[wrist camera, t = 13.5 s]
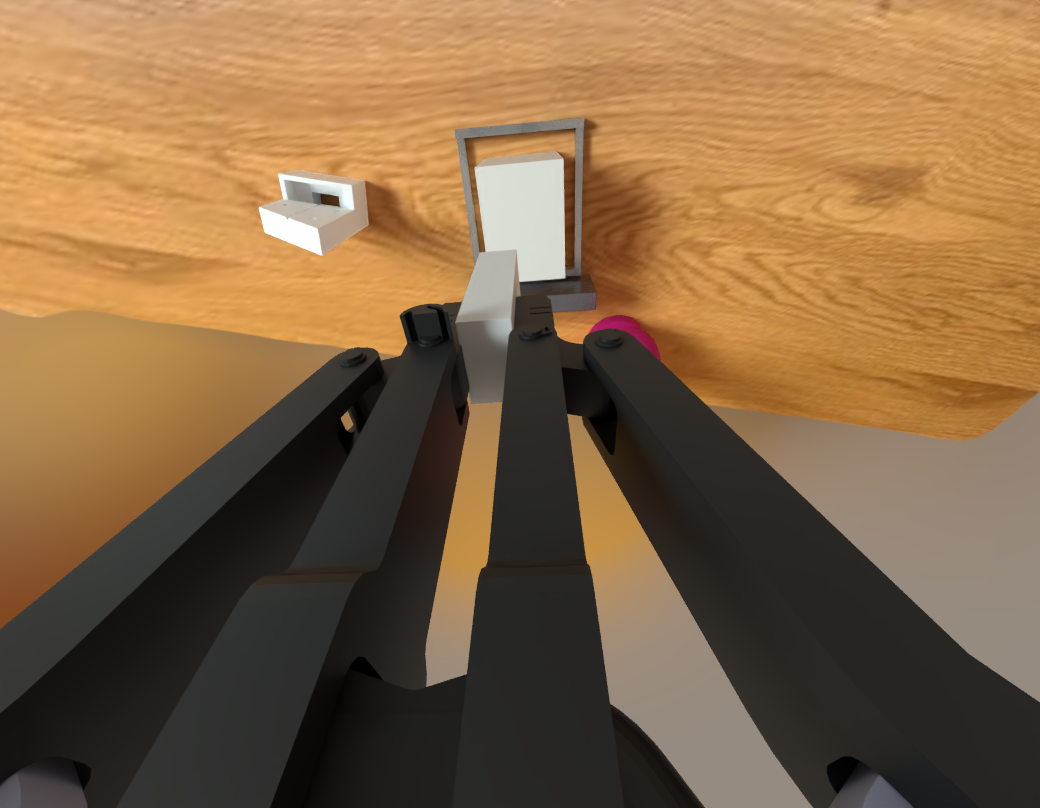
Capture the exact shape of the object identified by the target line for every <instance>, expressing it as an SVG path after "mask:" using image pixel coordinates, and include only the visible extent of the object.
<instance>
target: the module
mask: <svg viewBox="0 0 1040 808" xmlns="http://www.w3.org/2000/svg"><path fill="white" fill-rule="evenodd" d="M475 175H476V182H477V190H478V197H479V205H480V212H481V220H482V228H483V235H484V243H485V250H486V252H491V251H503V250H515V249H517V261H518V272H519V282H524V281H537V280H549V279H562V278H565V227H564V159H563V158H562V156H561V155H560V154H559V153H558V152H557V151H552V152H542V153H532V154H522V155H512V156H502V157H492V158H485V159H484V160H483V161H481V162H480V163H479V164H478V165H477V166H476V167H475Z"/></svg>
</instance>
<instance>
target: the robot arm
mask: <svg viewBox="0 0 1040 808" xmlns="http://www.w3.org/2000/svg"><path fill="white" fill-rule="evenodd" d="M400 319H401V322H402V326H403V329H404V332H405V336H406V339H407V345H406V347H405V349H404V351H403V353H402V355H401V356H398V357H395V358H390V359H386V360H382V361H381V360H380V357H379V354H378V351H376V350H375V349H372V348H360V347H357V348H354V349H353V348H352V349H348V350H346V351H345V352H343V353H340V354H338V355H337V356H335V357H334V358H332V359H331V360H330V361H328V362H327V363H326V364H325V365H324V366H322V367H321V368H320V369H319V370H317V371H316V372H315V373H314V374H313V375H311V376H310V377H309V378H308V379H306V380H305V381H304V382H303V383H302V384H300V385H299V386H298V387H297V388H295V389H294V390H293V391H292V392H291V393H289V394H288V395H287V396H286V397H284V398H283V399H282V400H281V401H280V402H278V403H277V404H276V405H275V406H273V407H272V408H271V409H270V410H268V411H267V412H266V413H265V414H264V415H262V416H261V417H260V418H259V419H258V420H256V421H255V422H254V423H252V424H251V425H250V426H249V427H248V428H246V429H245V430H244V431H243V432H242V433H240V434H239V435H238V436H237V437H235V438H234V439H233V440H232V441H230V442H229V443H228V444H227V445H226V446H224V447H223V448H222V449H221V450H220V451H218V452H217V453H216V454H214V455H213V456H212V457H211V458H210V459H208V460H207V461H206V462H205V463H203V464H202V465H201V466H200V467H199V468H197V469H196V470H195V471H194V472H192V473H191V474H190V475H189V476H188V477H186V478H185V479H184V480H183V481H182V482H180V483H179V484H178V485H176V486H175V487H174V488H173V489H172V490H171V491H169V492H168V493H167V494H165V495H164V496H163V497H162V498H161V499H159V500H158V501H157V502H156V503H154V504H153V505H152V506H151V507H150V508H148V509H147V510H146V511H145V512H143V513H142V514H141V515H140V516H139V517H137V518H136V519H135V520H134V521H133V522H131V523H130V524H129V525H127V526H126V527H125V528H124V529H123V530H121V531H120V532H119V533H118V534H116V535H115V536H114V537H113V538H111V539H110V540H109V541H108V542H107V543H105V544H104V545H103V546H102V547H100V548H99V549H98V550H97V551H96V552H94V553H93V554H92V555H91V556H89V557H88V558H87V559H86V560H85V561H83V562H82V563H81V564H80V565H78V566H77V567H76V568H75V569H74V570H72V571H71V572H70V573H69V574H67V575H66V576H65V577H64V578H63V579H61V580H60V581H59V582H58V583H56V584H55V585H54V586H53V587H51V588H50V589H49V590H48V591H47V592H45V593H44V594H43V595H42V596H40V597H39V598H38V599H37V600H36V601H34V602H33V603H32V604H31V605H29V606H28V607H27V608H26V609H25V610H23V611H22V612H21V613H20V614H18V615H17V616H16V617H15V618H14V619H12V620H11V621H10V622H8V623H7V624H6V625H5V626H4V627H2V628H1V629H0V808H705V807H704V806H703V805H702V803H701V802H700V801H699V799H698V798H697V797H696V795H695V794H694V793H693V792H692V790H691V789H690V788H689V786H688V785H687V784H686V782H685V781H684V780H683V778H682V777H681V776H680V775H679V773H678V772H677V771H676V769H675V768H674V767H673V765H672V764H671V763H670V762H669V760H668V759H667V758H666V756H665V755H664V754H663V753H662V751H661V750H660V749H659V748H658V746H657V745H656V744H655V743H654V742H653V741H652V740H651V739H650V738H649V737H648V735H646V733H645V732H644V731H643V730H642V729H641V728H640V727H639V726H638V725H637V724H635V722H633V721H632V720H631V719H629V718H628V717H627V716H626V715H625V714H624V713H623V712H621V711H620V710H619V709H617V708H616V707H614V706H613V705H611V704H610V701H609V694H608V686H607V679H606V672H605V665H604V657H603V650H602V643H601V635H600V629H599V621H598V614H597V606H596V599H595V592H594V586H593V579H592V574H591V570H590V566H589V565H588V564H587V561H586V556H585V549H584V542H583V534H582V525H581V518H580V510H579V502H578V494H577V487H576V479H575V471H574V463H573V456H572V448H571V440H570V432H569V424H568V417H567V414H572V415H578V416H582V420H583V424H584V426H585V428H586V430H587V431H588V433H589V435H590V437H591V438H592V440H593V442H594V444H595V445H596V447H597V449H598V451H599V452H600V454H601V456H602V458H603V459H604V461H605V463H606V465H607V466H608V468H609V470H610V472H611V474H612V475H613V477H614V479H615V480H616V482H617V484H618V486H619V488H620V489H621V491H622V493H623V495H624V496H625V498H626V500H627V501H628V503H629V505H630V507H631V508H632V510H633V512H634V514H635V515H636V517H637V519H638V521H639V523H640V524H641V526H642V528H643V529H644V531H645V533H646V535H647V537H648V538H649V540H650V542H651V544H652V545H653V547H654V549H655V551H656V552H657V554H658V556H659V558H660V559H661V561H662V563H663V565H664V566H665V568H666V570H667V572H668V573H669V575H670V577H671V579H672V581H673V582H674V584H675V586H676V587H677V589H678V591H679V593H680V594H681V596H682V598H683V600H684V601H685V603H686V605H687V607H688V608H689V610H690V612H691V614H692V616H693V617H694V619H695V621H696V623H697V624H698V626H699V628H700V629H701V631H702V633H703V635H704V636H705V638H706V640H707V641H708V644H709V645H710V647H711V649H712V650H713V652H714V654H715V656H716V658H717V659H718V661H719V663H720V665H721V666H722V668H723V670H724V672H725V673H726V675H727V677H728V679H729V680H730V682H731V684H732V686H733V687H734V689H735V691H736V693H737V694H738V696H739V698H740V700H741V702H742V703H743V705H744V707H745V709H746V710H747V712H748V713H749V715H750V717H751V718H752V720H753V721H754V723H755V725H756V726H757V728H758V730H759V731H760V733H761V734H762V736H763V738H764V739H765V741H766V742H767V744H768V746H769V747H770V749H771V750H772V752H773V754H774V755H775V756H776V758H777V759H778V760H779V762H780V763H781V765H782V766H783V767H784V769H785V770H786V771H787V773H788V774H789V775H790V777H791V778H792V780H793V781H794V782H795V784H796V785H797V786H798V788H799V789H800V791H801V792H802V794H803V795H804V796H805V798H806V799H807V800H808V802H809V803H810V804H811V805H812V806H813V808H1040V702H1038V701H1037V700H1035V699H1034V698H1032V697H1031V696H1030V695H1028V694H1027V693H1025V692H1024V691H1022V690H1021V689H1019V688H1018V687H1016V686H1015V685H1013V684H1012V683H1010V682H1009V681H1007V680H1006V679H1005V678H1003V677H1002V676H1000V675H999V674H997V673H996V672H994V671H993V670H991V669H990V668H988V667H987V666H985V665H984V664H983V663H981V662H979V661H978V660H977V659H975V658H974V657H972V656H971V655H969V654H968V653H967V652H966V651H965V650H964V649H963V648H962V647H961V646H959V644H958V643H956V642H955V641H954V640H953V639H952V638H951V637H950V636H949V635H948V634H947V633H946V632H945V631H944V630H943V629H942V628H941V627H940V626H938V624H936V623H935V622H934V621H933V620H932V619H931V618H930V617H929V616H928V615H927V614H926V613H925V612H924V611H923V610H922V609H921V608H920V607H918V605H916V604H915V603H914V602H913V601H912V600H911V599H910V598H909V597H908V596H907V595H906V594H905V593H904V592H903V591H902V590H900V589H899V587H897V586H896V585H895V584H894V583H893V582H892V581H891V580H890V579H889V578H888V577H887V576H886V575H885V574H884V573H882V571H881V570H880V569H879V568H877V567H876V566H875V565H874V564H873V563H872V562H871V561H870V560H869V559H868V558H867V557H866V556H865V555H864V554H863V553H862V552H861V551H859V550H858V549H857V548H856V547H855V546H854V545H853V544H852V543H851V542H850V541H849V540H848V539H847V538H846V537H845V536H844V535H843V534H842V533H841V532H840V531H838V530H837V529H836V528H835V527H834V526H833V525H832V524H831V523H830V522H829V521H828V520H827V519H826V518H825V517H824V516H823V515H822V514H821V513H820V512H819V511H817V510H816V509H815V508H814V507H813V506H812V505H811V504H810V503H809V502H808V501H807V500H806V499H805V498H804V497H802V495H801V494H799V493H798V492H797V491H796V490H795V489H794V488H793V487H792V486H791V485H790V484H789V483H788V482H787V481H786V480H785V479H784V478H783V477H782V476H780V475H779V474H778V473H777V472H776V471H775V470H774V469H773V468H772V467H771V466H770V465H769V464H768V463H767V462H766V461H765V460H764V459H763V458H762V457H761V456H760V455H758V454H757V453H756V452H755V451H754V450H753V449H752V448H751V447H750V446H749V445H748V444H747V443H746V442H745V441H744V440H743V439H742V438H741V437H739V436H738V435H737V434H736V433H735V432H734V431H733V430H732V429H731V428H730V427H729V426H728V425H727V424H726V423H725V422H724V421H723V420H721V418H719V417H718V416H717V415H716V414H715V413H714V412H713V411H712V410H711V409H710V408H709V407H708V406H707V405H706V404H705V403H704V402H703V401H702V400H701V399H699V398H698V397H697V396H696V395H695V394H694V393H693V392H692V391H691V390H690V389H689V388H688V387H687V386H686V385H685V384H684V383H683V382H682V381H681V380H679V379H678V378H677V377H676V376H675V375H674V374H673V373H672V372H671V371H670V370H669V369H668V368H667V367H666V366H665V365H664V364H663V363H662V362H661V361H659V360H658V359H657V358H656V357H655V356H654V355H653V354H652V353H651V352H650V351H649V350H648V349H647V348H646V347H645V346H644V345H643V344H642V343H640V342H639V341H638V340H637V339H636V338H635V337H634V336H633V335H631V334H630V333H628V332H625V331H622V330H619V329H614V328H613V329H612V328H607V329H603V330H597V331H594V332H591V333H589V334H588V335H586V336H585V338H584V340H583V344H576V343H570V342H567V341H564V340H562V339H560V338H559V337H558V336H557V332H556V330H555V328H554V320H553V313H552V304H551V299H549V298H548V297H547V296H545V295H531V296H521V295H520V284H519V272H518V261H517V249H515V250H503V251H491V252H480V253H479V256H478V259H477V262H476V264H475V267H474V270H473V273H472V276H471V279H470V282H469V284H468V287H467V290H466V293H465V296H464V299H463V302H454V303H445V304H443V305H440V304H425V305H419V306H415V307H412V308H410V309H408V310H406V311H404V312H403V313H402V314H401V315H400ZM468 392H469V393H470V398H471V403H472V404H475V403H492V402H503V403H502V414H501V425H500V436H499V447H498V458H497V468H496V479H495V490H494V501H493V512H492V524H491V535H490V545H489V555H488V562H487V565H486V567H484V568H482V569H481V572H480V574H479V578H478V584H477V590H476V598H475V607H474V616H473V625H472V634H471V643H470V652H469V661H468V670H467V674H466V675H463V676H460V677H457V678H454V679H450V680H447V681H444V682H441V683H438V684H435V685H432V686H429V687H426V676H427V673H426V659H425V649H426V639H427V634H428V629H429V623H430V618H431V613H432V608H433V602H434V597H435V592H436V587H437V582H438V576H439V571H440V566H441V561H442V555H443V550H444V544H445V539H446V534H447V529H448V523H449V518H450V513H451V508H452V503H453V498H454V492H455V487H456V482H457V477H458V471H459V466H460V460H461V455H462V450H463V445H464V439H465V435H466V429H467V423H468V418H469V407H468V402H467V396H468ZM347 411H348V413H349V415H350V417H351V420H352V422H353V424H354V425H353V426H352V427H351V429H349V430H348V431H347V430H346V429H345V427H344V425H343V423H342V421H341V417H342V416H343V415H344V414H345V413H346V412H347Z"/></svg>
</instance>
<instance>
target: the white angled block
mask: <svg viewBox="0 0 1040 808" xmlns="http://www.w3.org/2000/svg"><path fill="white" fill-rule="evenodd" d="M278 176H279V181H280V186H281V190H282V195H283V199H282V200H279V201H276V202H272V203H269V204H266V205H263V206H260V207H259V210H260V215H261V219H262V223H263V227H264V231H265V233H267V234H269V235H272V236H274V237H277V238H279V239H282V240H284V241H287V242H289V243H292V244H294V245H297V246H299V247H302V248H304V249H307V250H309V251H312V252H314V253H317V254H319V255H321V256H323V255H324V254H326V253H327V252H329V251H330V250H332V249H333V248H335V247H336V246H338V245H339V244H341V243H342V242H344V241H345V240H347V239H348V238H350V237H351V236H353V235H355V234H356V233H358V232H359V231H361V230H362V229H364V228H365V227H367V226H368V225H369V221H368V209H367V198H366V187H365V180H360V179H354V178H347V177H341V176H335V175H329V174H322V173H316V172H310V171H303V170H292V171H288V172H283V173H278ZM320 193H322V194H328V195H335V196H339V203H340V207H339V206H333V205H326V204H322V202H321V195H320Z"/></svg>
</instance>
